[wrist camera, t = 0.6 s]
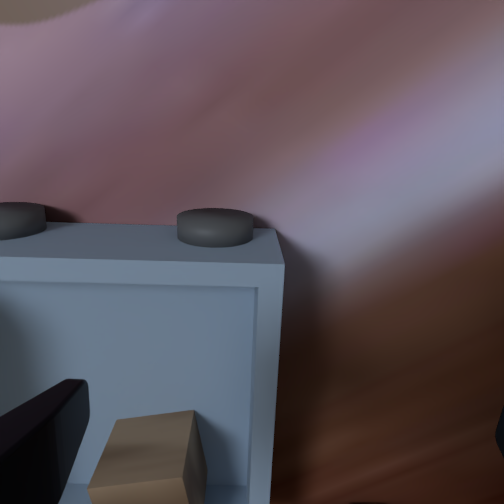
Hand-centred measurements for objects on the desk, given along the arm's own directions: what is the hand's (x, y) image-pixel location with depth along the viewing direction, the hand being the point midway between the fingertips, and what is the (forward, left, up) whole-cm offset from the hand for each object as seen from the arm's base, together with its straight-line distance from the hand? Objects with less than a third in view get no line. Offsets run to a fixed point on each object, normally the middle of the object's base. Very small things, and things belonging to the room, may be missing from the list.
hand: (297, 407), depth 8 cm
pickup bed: (-8, +8, -13) cm, 17 cm away
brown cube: (-12, +6, -12) cm, 18 cm away
